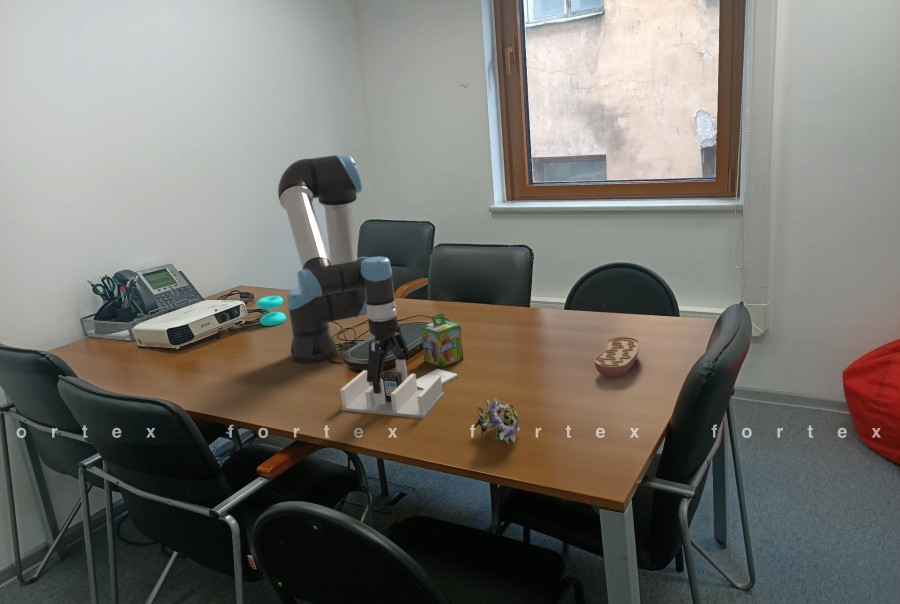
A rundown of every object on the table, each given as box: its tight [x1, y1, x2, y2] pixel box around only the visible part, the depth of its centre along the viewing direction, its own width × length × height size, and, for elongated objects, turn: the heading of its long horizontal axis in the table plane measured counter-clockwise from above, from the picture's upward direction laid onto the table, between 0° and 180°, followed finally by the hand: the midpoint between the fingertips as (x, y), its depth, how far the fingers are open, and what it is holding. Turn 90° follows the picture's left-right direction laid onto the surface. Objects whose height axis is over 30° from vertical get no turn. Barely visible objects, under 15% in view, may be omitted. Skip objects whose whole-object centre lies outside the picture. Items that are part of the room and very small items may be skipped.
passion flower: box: [473, 397, 521, 445], centre depth 146 cm, size 11×11×12 cm
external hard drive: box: [416, 368, 458, 390], centre depth 181 cm, size 2×8×12 cm
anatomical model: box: [594, 336, 640, 379], centre depth 179 cm, size 23×10×5 cm, turn 153°
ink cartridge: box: [381, 370, 402, 402], centre depth 169 cm, size 5×2×8 cm, turn 68°
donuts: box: [256, 295, 287, 327], centre depth 249 cm, size 10×10×10 cm
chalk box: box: [420, 312, 464, 368], centre depth 194 cm, size 9×9×15 cm
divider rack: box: [339, 369, 445, 419], centre depth 170 cm, size 14×24×6 cm, turn 69°
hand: (392, 392), depth 170 cm, fingers open, 13 cm apart
